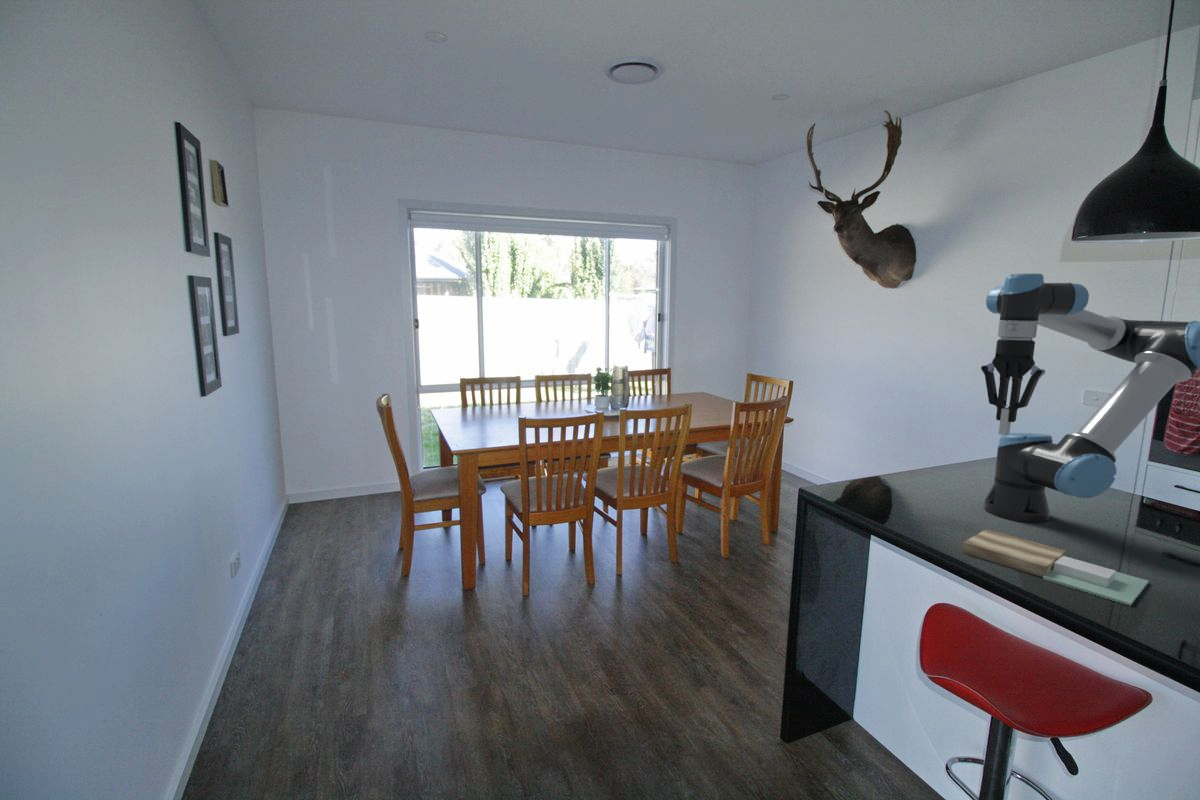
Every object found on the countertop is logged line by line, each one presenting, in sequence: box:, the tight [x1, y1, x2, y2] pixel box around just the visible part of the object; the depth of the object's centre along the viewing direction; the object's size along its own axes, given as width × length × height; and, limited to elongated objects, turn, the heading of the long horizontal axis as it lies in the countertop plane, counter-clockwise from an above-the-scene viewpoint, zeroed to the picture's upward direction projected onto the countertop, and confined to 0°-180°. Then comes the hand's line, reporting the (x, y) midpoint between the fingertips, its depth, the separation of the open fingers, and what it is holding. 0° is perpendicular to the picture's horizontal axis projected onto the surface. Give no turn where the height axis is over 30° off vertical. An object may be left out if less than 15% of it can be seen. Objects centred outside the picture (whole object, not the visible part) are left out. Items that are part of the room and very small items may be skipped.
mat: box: [1042, 568, 1149, 607], centre depth 121 cm, size 16×14×1 cm
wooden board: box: [961, 528, 1067, 578], centre depth 132 cm, size 14×16×2 cm
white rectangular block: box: [1053, 555, 1117, 587], centre depth 122 cm, size 9×6×2 cm, turn 37°
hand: (1003, 434), depth 141 cm, fingers closed
